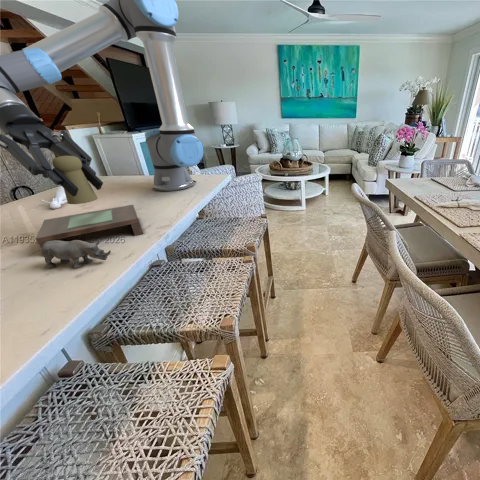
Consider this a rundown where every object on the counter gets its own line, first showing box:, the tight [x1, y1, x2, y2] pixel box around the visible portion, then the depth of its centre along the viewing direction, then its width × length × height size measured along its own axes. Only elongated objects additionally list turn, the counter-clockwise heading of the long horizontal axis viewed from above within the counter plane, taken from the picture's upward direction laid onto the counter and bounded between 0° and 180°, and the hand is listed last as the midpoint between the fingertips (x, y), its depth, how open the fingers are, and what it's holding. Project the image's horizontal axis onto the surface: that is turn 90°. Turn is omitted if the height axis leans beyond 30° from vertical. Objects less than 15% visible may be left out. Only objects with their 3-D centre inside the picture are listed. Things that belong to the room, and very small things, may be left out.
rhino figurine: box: [41, 239, 112, 269], centre depth 57 cm, size 4×14×6 cm, turn 93°
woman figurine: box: [40, 185, 68, 210], centre depth 96 cm, size 12×4×18 cm
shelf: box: [35, 204, 144, 250], centre depth 71 cm, size 20×14×5 cm
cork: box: [51, 155, 99, 205], centre depth 65 cm, size 6×6×11 cm
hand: (88, 189), depth 65 cm, fingers closed on cork, 5 cm apart
